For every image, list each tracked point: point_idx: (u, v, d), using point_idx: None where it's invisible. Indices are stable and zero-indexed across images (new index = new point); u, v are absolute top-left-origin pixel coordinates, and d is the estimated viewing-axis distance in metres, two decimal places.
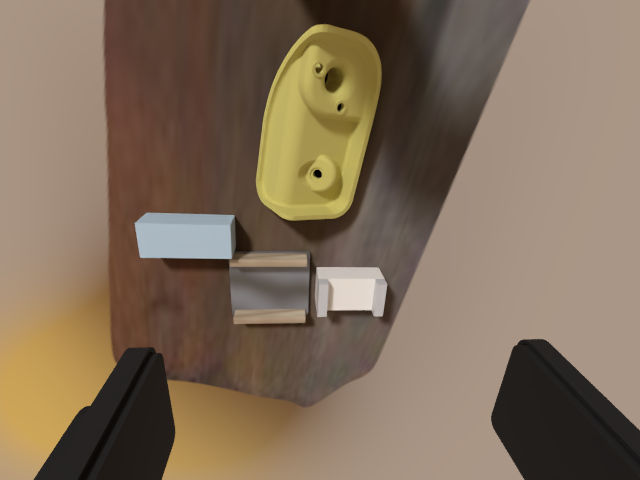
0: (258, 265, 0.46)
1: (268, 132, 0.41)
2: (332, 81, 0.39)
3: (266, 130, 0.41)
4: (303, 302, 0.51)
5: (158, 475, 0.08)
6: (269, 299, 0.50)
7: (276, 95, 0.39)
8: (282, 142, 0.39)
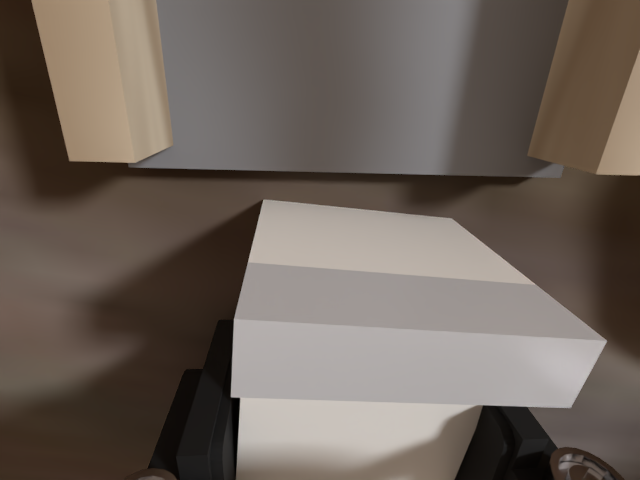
0: None
1: None
2: None
3: None
4: (225, 135, 0.07)
5: None
6: None
7: None
8: None
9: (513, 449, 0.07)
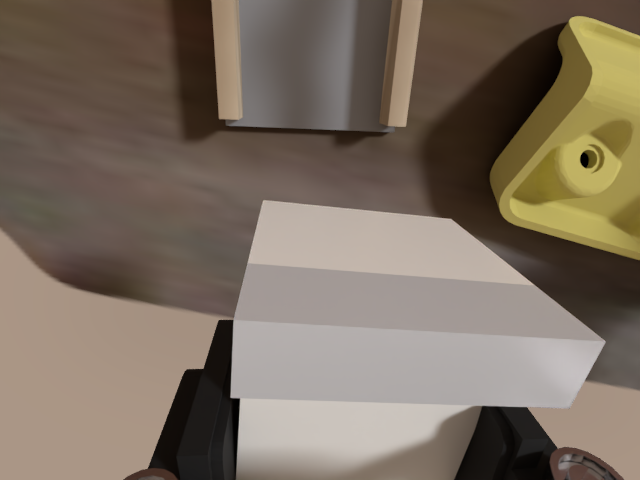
0: None
1: None
2: None
3: None
4: (262, 113, 0.20)
5: None
6: (272, 16, 0.18)
7: None
8: None
9: (513, 449, 0.07)
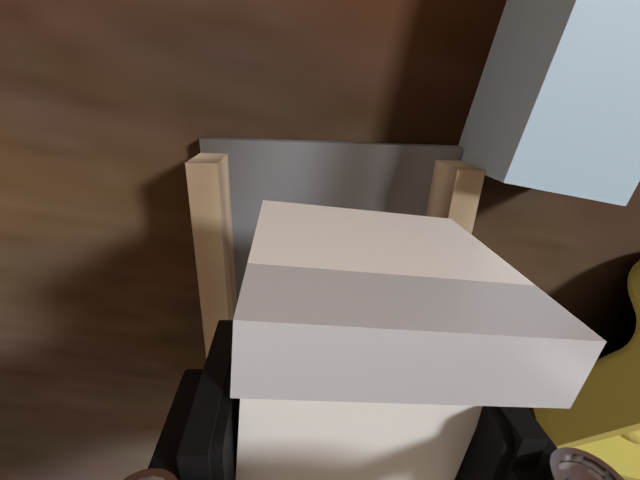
0: None
1: None
2: None
3: None
4: None
5: None
6: None
7: None
8: None
9: (513, 449, 0.07)
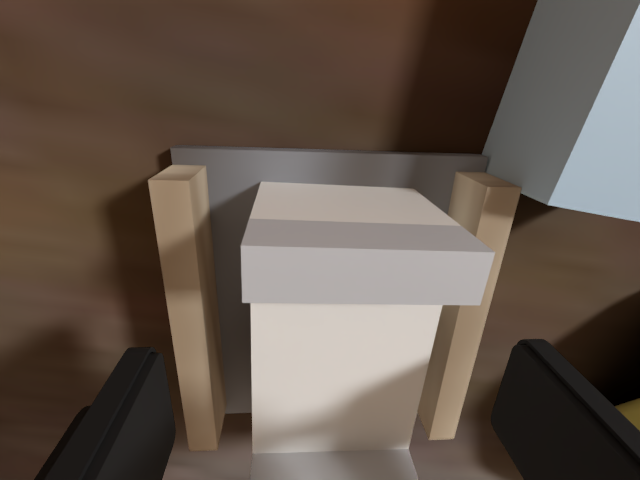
0: None
1: None
2: None
3: None
4: None
5: (158, 475, 0.08)
6: None
7: None
8: None
9: None
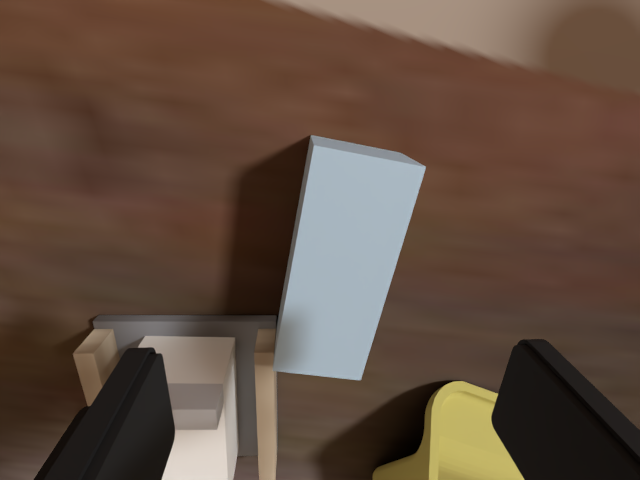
0: (259, 405, 0.19)
1: None
2: None
3: None
4: None
5: (158, 475, 0.08)
6: None
7: None
8: None
9: None
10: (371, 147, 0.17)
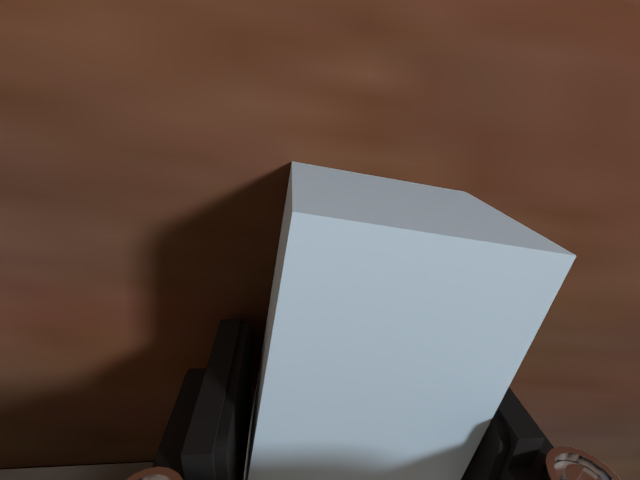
0: None
1: None
2: None
3: None
4: None
5: (247, 431, 0.09)
6: None
7: None
8: None
9: (509, 448, 0.07)
10: (412, 184, 0.09)
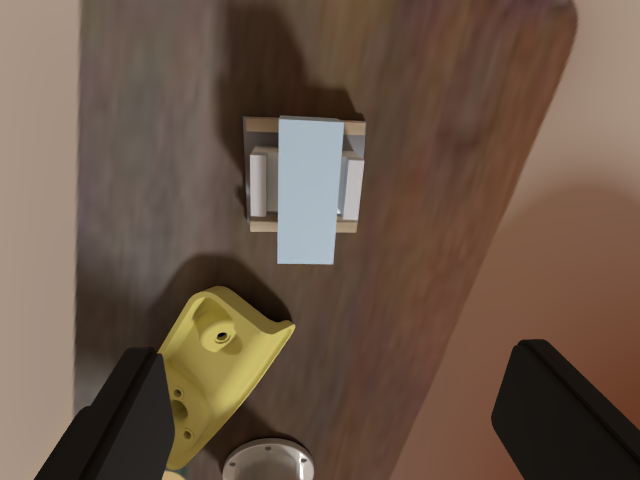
0: None
1: (259, 371, 0.41)
2: None
3: (260, 374, 0.42)
4: (252, 141, 0.31)
5: (158, 475, 0.08)
6: None
7: (238, 399, 0.42)
8: (246, 377, 0.39)
9: None
10: (318, 117, 0.27)
